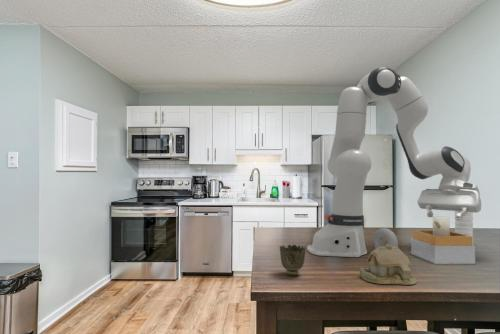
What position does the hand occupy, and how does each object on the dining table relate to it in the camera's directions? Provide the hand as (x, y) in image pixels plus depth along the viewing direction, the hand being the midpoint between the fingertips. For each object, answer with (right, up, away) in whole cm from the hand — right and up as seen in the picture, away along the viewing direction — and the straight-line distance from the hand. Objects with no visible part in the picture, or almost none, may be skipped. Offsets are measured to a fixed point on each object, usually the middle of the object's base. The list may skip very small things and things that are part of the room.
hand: (443, 217), depth 115 cm
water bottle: (+22, -16, +22) cm, 35 cm away
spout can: (-3, -8, -3) cm, 9 cm away
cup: (-58, -13, -23) cm, 64 cm away
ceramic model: (-32, -13, -26) cm, 43 cm away
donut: (-20, -14, +2) cm, 25 cm away
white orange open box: (-1, -14, -2) cm, 15 cm away
